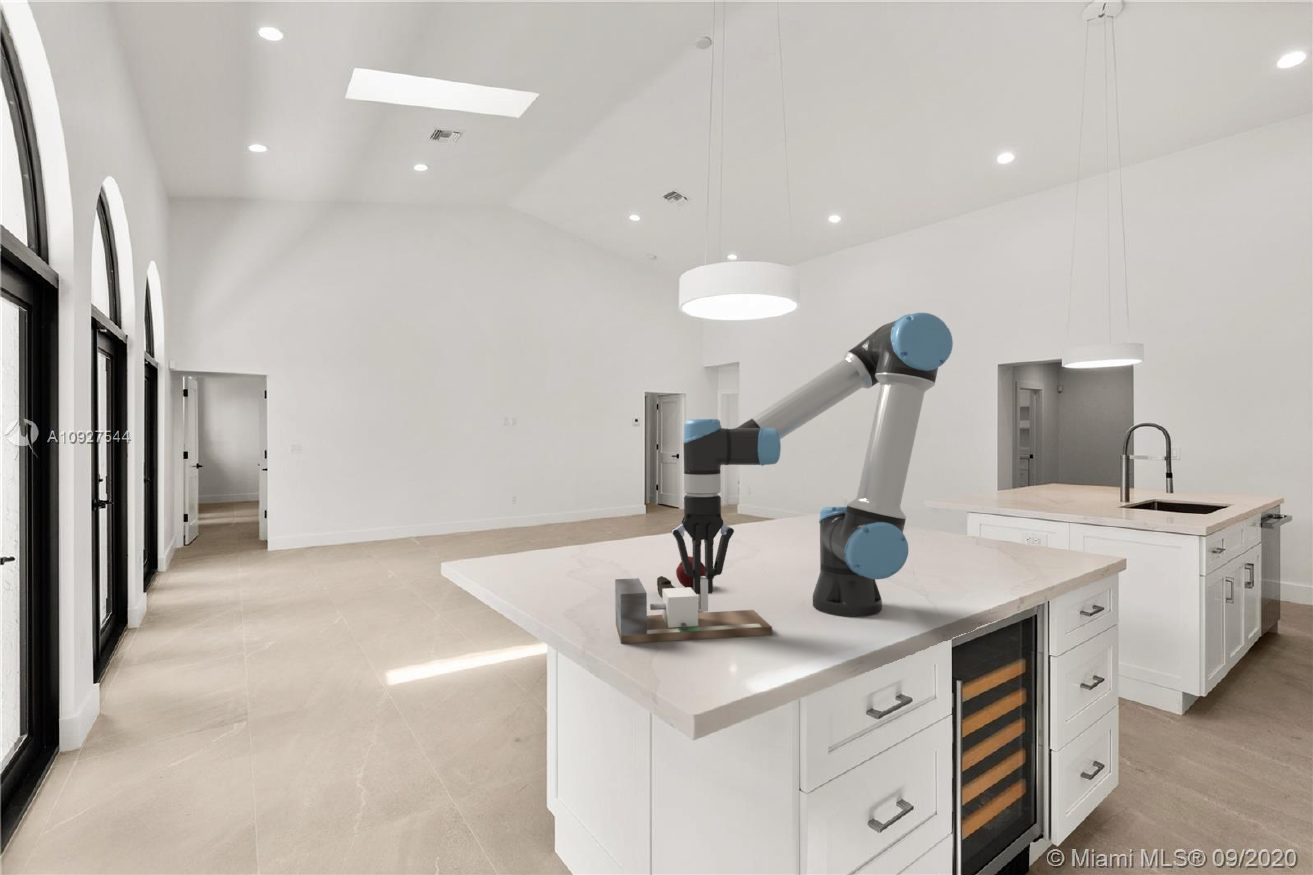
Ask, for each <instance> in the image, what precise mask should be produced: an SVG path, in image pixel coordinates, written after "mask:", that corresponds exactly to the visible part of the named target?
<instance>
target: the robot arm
mask: <svg viewBox="0 0 1313 875" xmlns="http://www.w3.org/2000/svg"><path fill="white" fill-rule="evenodd" d="M953 345H954V341H953V336H952V332H951V331H950V329H949V327H948V326H947V324H946V322H944V320H942V319H941V318H940V317H938V316H936V315H934V314H932V313H929V312H915V313H909V314H904V315H903V316H901V317H899V318H898V319H896V320H894V321H891V322H888V323H886V324H884V325H882V326H880V327H878V328H877V329H876V330H874V331H873V332H872V333H871V334H869V335H868V336H866V338H864V339H863V340H862V341H861V342H859V343H858V344H857V345H855V346H854V347H853V348H851V349H849V350H848V351H846V352H845V353H844V355H843V359H842V360H841V361H839V362H838V363H836V364H834V365H833V366H831V367H830V368H828V369H826V370H825V371H823V372H822V373H820V374H819V375H817V376H816V377H814V378H812V379H811V380H809V381H808V382H806V383H805V384H803V385H801V386H800V387H798V388H796V389H794V390H793V391H792V392H790V393H789V394H787V395H786V396H784V397H782V398H781V399H779V400H777V401H776V402H775V403H772V404H771V405H770V406H768V407H767V408H765V409H764V410H762V411H760V412H759V413H758V414H755V416H753V417H751V418H750V419H749V420H747V421H744V423H742V424H740V425H739V426H737V427H733V428H722V425H721V421H720V420H719V419H718V418H696V419H695V418H690V419H687V420H686V422H685V423H684V426H683V442H682V443H683V444H682V445H683V491H684V493H685V496H684V497H683V510H684V511H683V518H682V520H681V524H680V525H678V526H677V527H676V528H672V529H670V530H671V534H672V536H673V538H675V541H676V544H677V547H678V553H679V556H680V560H681V561H682V565H683V569H684V572H685V573H686V575H687V576H691V577H693V588H692V590H693V591H694V592H695V593H696V594H697V596H698V610H699V611H700V613H703V612H709V594H710V595H711V594H713V592H714V589H713V588H714V578H715V577H716V576H720V575H722V573H723V569H724V565H725V560H726V556H727V551H728V547H729V542H730V539H731V538H732V536H733V534H734V533H735V530H734V528H732V527H731V526H728V525H726V524H725V523H724V520H723V518H722V497H721V496H720V495H719V494H720V493H721V492H722V488H721V486H722V485H721V484H722V482H721V481H722V478H721V477H722V476H721V475H722V472H721V467H722V466H767V465H768V466H769V465H776V464H777V463H778V462H779V460H780V458H781V451H782V450H781V448H782V447H781V446H782V445H781V439H783V438H785V437H786V436H787V435H790V434H791V433H793V432H794V431H795V430H797V429H799V428H800V427H802V426H804V425H805V424H807V423H808V422H810V421H811V420H813V419H815V418H816V417H818V416H819V415H821V414H823V413H824V412H826V411H827V410H829V409H830V408H832V407H834V406H836V405H837V404H838V403H839V402H842V401H843V400H844V399H846V398H848V397H849V396H851V395H853V394H854V393H856V392H858V391H860V390H861V389H862V388H863V389H871V388H872V387H874V386H875V385H876V384H878V383H879V385H880V387H879V392H878V396H877V397H878V398H877V401H876V406H875V410H874V411H875V412H874V415H873V419H872V420H873V421H872V424H871V425H872V426H871V428H870V434H869V439H868V444H867V448H866V453H865V458H864V463H863V467H862V472H861V475H860V480H859V486H858V490H857V495H856V498H854V499H853V500H852V501H850V502H848V503H847V505H846V506H825V507H822V508H821V510H820V512H819V513H820V514H819V521H818V523H819V546H820V547H819V558H820V559H819V564H820V565H819V568H820V569H819V574H818V575H819V576H818V578H817V582H816V583H815V587H814V590H813V593H812V607H813V608H815V609H816V610H818V611H820V612H823V613H826V614H829V615H830V614H831V615H837V616H844V617H868V616H869V617H870V616H874V615H877V614H880V613H881V612H882V611H883V598H882V596H881V593H880V590H879V587H878V584H877V582H876V580H883V579H887V578H890V577H892V576H893V575H895V574H897V573H898V572H900V571H901V569H902V568H903V567H904V565H905V564H906V561H907V558H908V556H909V543H908V540H907V538H906V535H905V534H904V529H905V524H906V519H907V516H906V515H905V513H904V511H903V510H902V508H901V504H902V499H903V495H904V490H905V485H906V481H907V476H908V471H909V467H910V463H911V458H912V453H913V448H914V444H915V443H914V442H915V439H916V434H917V430H918V426H919V420H920V414H921V411H922V406H923V401H924V398H925V397H924V396H925V394H926V392H927V391H929V390H930V389H931V388H933V387H934V386H935V384H936V379H937V377H938V376H937V374H938V370H939V367H941V366H943V365H944V364H945V363H946V362H947V360H948V359H949V358H950V356H951V354H952V351H953ZM685 532H686V533H687V534H688V535H689V537H690V538H691V543H692V557H693V570H692V569H691V566H690V562H689V558H688V556H689V554H688V550H687V546H686V541H685V539H684V537H685ZM719 532H720V534H721V536H720V537H719V538H720V539H719V543H718V547H717V552H716V554H715V555H716V556H715V561H714V541H715V539H714V538H716V536H717V534H718V533H719ZM702 541H703V543H704V566H705V576H701V562H702V552H701V551H702V549H701V548H702ZM681 561H680V562H681Z"/></svg>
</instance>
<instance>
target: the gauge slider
mask: <svg viewBox="0 0 1313 875" xmlns="http://www.w3.org/2000/svg"><path fill="white" fill-rule="evenodd" d="M661 599H662V602H661V603H660V602H659V603H650V606H649V607H650V611H656V610H657V611H659V610H662V615H663V619H664V621H665V623H666V624H667V626H668V628H675V627H683V629H688V627H692V626H698V613H699V608H698V594H696V593H695V592H694V591H693V588H691V587H687V588H686V587H675V588H666V589H662V598H661Z"/></svg>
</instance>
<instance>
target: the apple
mask: <svg viewBox="0 0 1313 875" xmlns="http://www.w3.org/2000/svg"><path fill="white" fill-rule="evenodd" d="M688 558H689V562H690V566H691V569H692V570H693V556H689V555H688ZM675 570H676V571H675V575H676V578H677V581H678V582H679V583H680V585H682V587H683V588H687V587H691V588H692V589H693V577H691V576H687V575H686V573H685V572H684V569H683V565H682V561H680V563H679V564H678V566H677V567H676V569H675ZM701 576H705V563H703V562H702V561H701Z"/></svg>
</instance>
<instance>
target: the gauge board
mask: <svg viewBox="0 0 1313 875" xmlns="http://www.w3.org/2000/svg"><path fill="white" fill-rule="evenodd" d="M614 583H615V585H614V593H615V595H614V597H615V600H614V601H615V604H614V605H615V607H614V608H615V628H616V632H617V634H618V637H619V641H620V644H621V645H622V644H637V643H639V644H640V643H652V642H656V643H657V642H670V641H686V640H689V641H690V640H704V639H717V638H720V639H723V638H734V637H735V638H737V637H750V636H753V637H754V636H755V637H756V636H767V635H769V636H770V635H772V633H773V626H771V625H770V624H769V623H768V622H767V621H766V620H765V619H764V618H763V617H762V616H760V615H759V614H758V613H757V611H755V610H754V609H746V610H745V609H743V610H724V611H723V610H722V611H702V612H698V626H692V627H688V629H683V627H675V628H668V626H667V624H666V623H665V621H664V619H663V614H651V615H648V612H647V611H648V608H647V607H648V605H647V604H648V603H647V602H648V601H647V600H648V599H647V596H648V594H647V590H646V589H645V587H644V585H643V584H642V581H641V580H640V578H637V577H636V578H635V577H633V578H617V579H615V580H614Z"/></svg>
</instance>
